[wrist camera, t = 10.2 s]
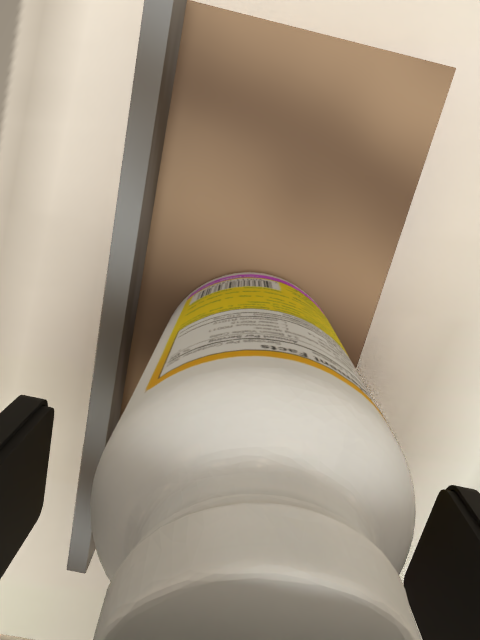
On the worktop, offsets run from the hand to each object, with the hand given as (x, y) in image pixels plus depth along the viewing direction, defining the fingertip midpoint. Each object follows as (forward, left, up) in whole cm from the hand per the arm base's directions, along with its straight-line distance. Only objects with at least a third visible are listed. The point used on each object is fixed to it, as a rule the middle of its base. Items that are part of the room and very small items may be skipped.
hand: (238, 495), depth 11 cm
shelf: (+1, +1, -10) cm, 10 cm away
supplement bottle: (+1, 0, -8) cm, 8 cm away
